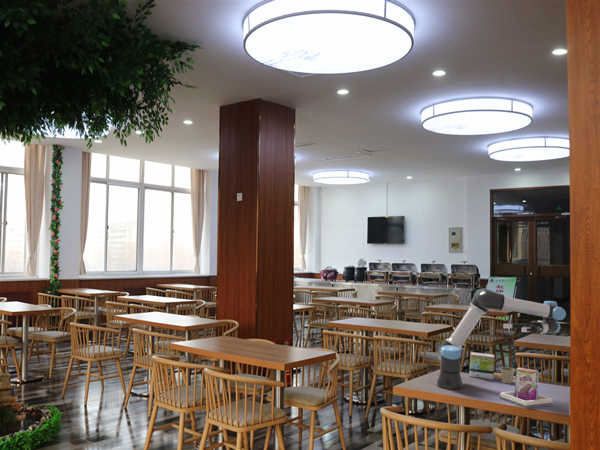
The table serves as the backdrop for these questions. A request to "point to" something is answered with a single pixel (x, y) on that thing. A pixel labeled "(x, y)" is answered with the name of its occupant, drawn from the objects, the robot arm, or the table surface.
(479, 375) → the tea box
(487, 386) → the table surface
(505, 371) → the flower pot
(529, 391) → the candy bar box
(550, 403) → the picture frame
